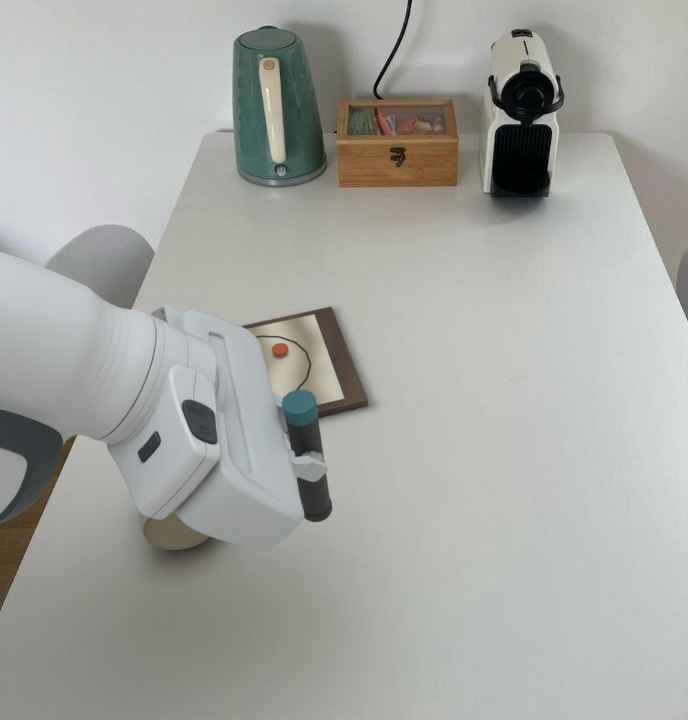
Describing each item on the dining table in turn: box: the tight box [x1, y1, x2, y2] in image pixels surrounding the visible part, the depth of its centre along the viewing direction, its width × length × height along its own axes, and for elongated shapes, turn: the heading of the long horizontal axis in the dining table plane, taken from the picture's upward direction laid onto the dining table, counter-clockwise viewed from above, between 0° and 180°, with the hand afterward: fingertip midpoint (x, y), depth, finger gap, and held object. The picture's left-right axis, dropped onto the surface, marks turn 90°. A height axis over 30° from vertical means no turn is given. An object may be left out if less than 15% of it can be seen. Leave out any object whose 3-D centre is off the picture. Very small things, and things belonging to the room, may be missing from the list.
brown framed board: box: [240, 306, 369, 419], centre depth 97 cm, size 22×18×1 cm
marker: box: [282, 390, 333, 523], centre depth 64 cm, size 3×3×13 cm
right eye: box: [272, 343, 288, 356], centre depth 98 cm, size 2×2×1 cm
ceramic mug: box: [138, 511, 210, 551], centre depth 80 cm, size 11×8×8 cm
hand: (315, 451), depth 63 cm, fingers closed on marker, 2 cm apart
